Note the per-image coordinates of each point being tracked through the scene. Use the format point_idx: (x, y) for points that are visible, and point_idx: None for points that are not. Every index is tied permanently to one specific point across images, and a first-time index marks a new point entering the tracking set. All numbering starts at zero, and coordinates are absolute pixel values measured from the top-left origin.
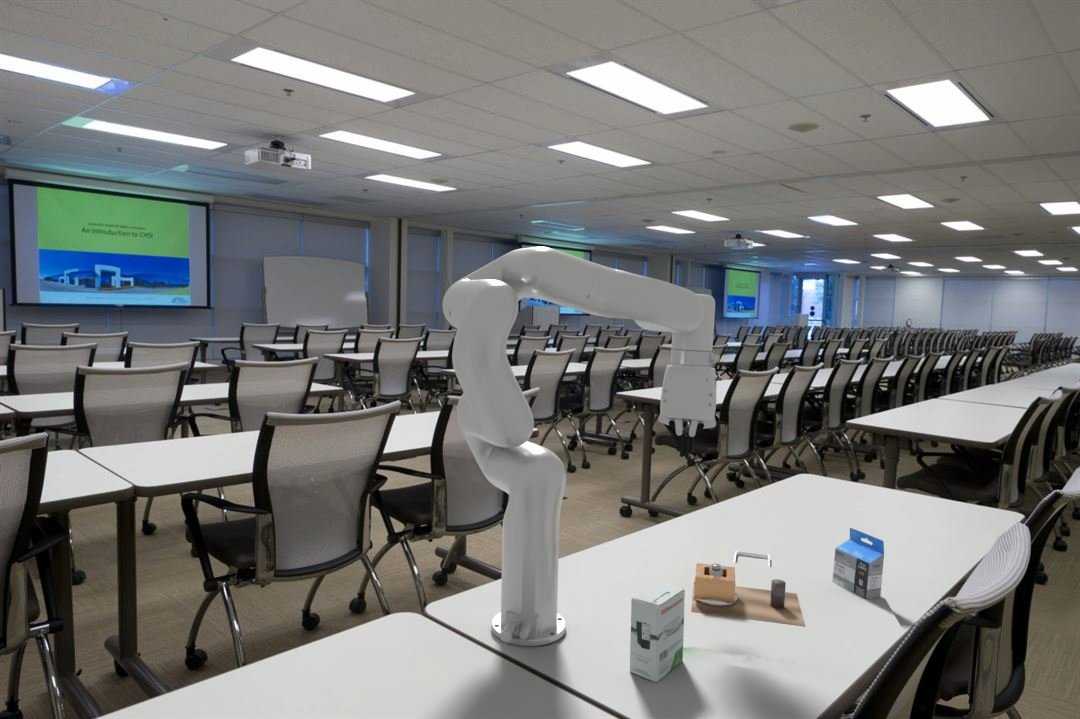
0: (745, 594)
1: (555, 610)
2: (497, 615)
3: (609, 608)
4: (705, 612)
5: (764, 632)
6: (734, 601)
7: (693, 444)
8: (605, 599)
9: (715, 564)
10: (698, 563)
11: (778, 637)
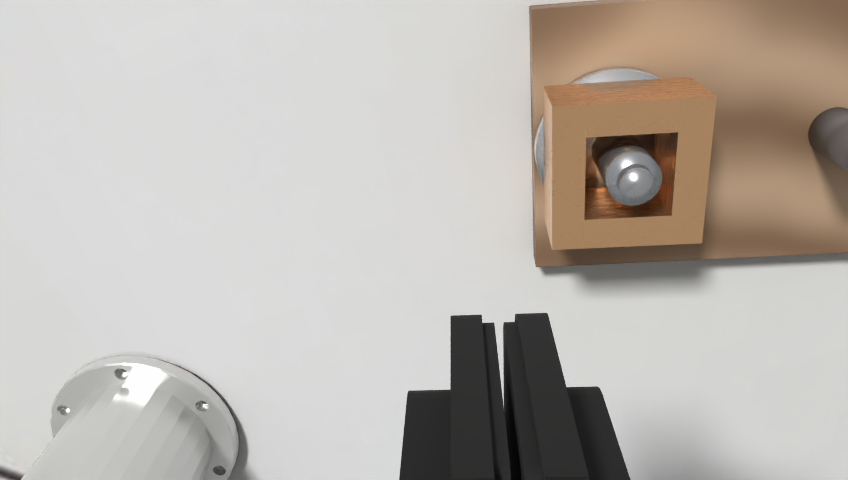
0: (729, 68)
1: (196, 476)
2: (56, 432)
3: (290, 262)
4: (580, 260)
5: (750, 261)
6: None
7: (613, 439)
8: (258, 208)
9: (635, 180)
10: (559, 107)
11: (786, 278)
